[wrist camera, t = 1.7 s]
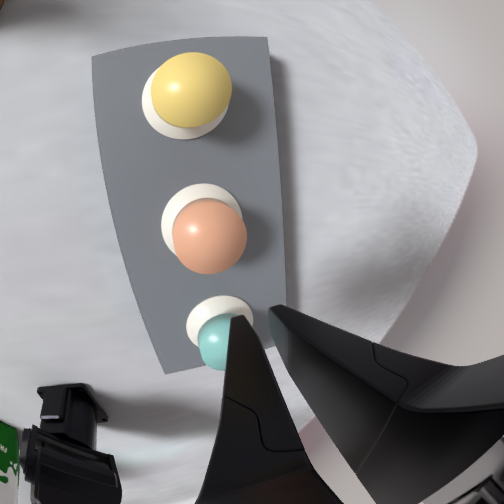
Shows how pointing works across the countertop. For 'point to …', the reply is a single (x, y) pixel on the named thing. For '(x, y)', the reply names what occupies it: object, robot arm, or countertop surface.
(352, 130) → the countertop surface
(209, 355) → the teal button
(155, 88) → the mustard button
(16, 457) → the milk carton
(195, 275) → the button console
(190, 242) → the terracotta button
